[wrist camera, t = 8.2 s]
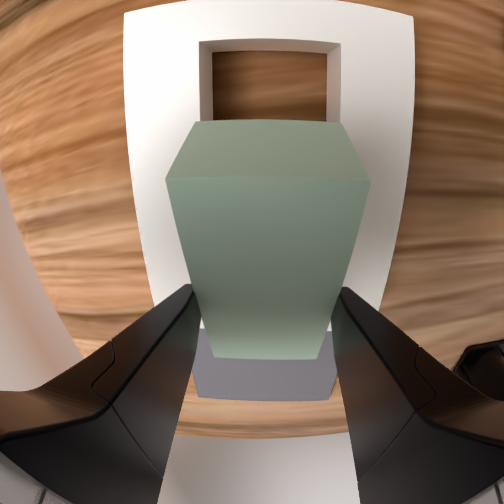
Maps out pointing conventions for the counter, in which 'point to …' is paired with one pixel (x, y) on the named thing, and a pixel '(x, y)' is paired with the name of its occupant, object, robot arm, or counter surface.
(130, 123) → the white rectangular frame
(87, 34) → the counter surface
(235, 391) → the rubber mat
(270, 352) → the sage block
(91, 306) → the counter surface
